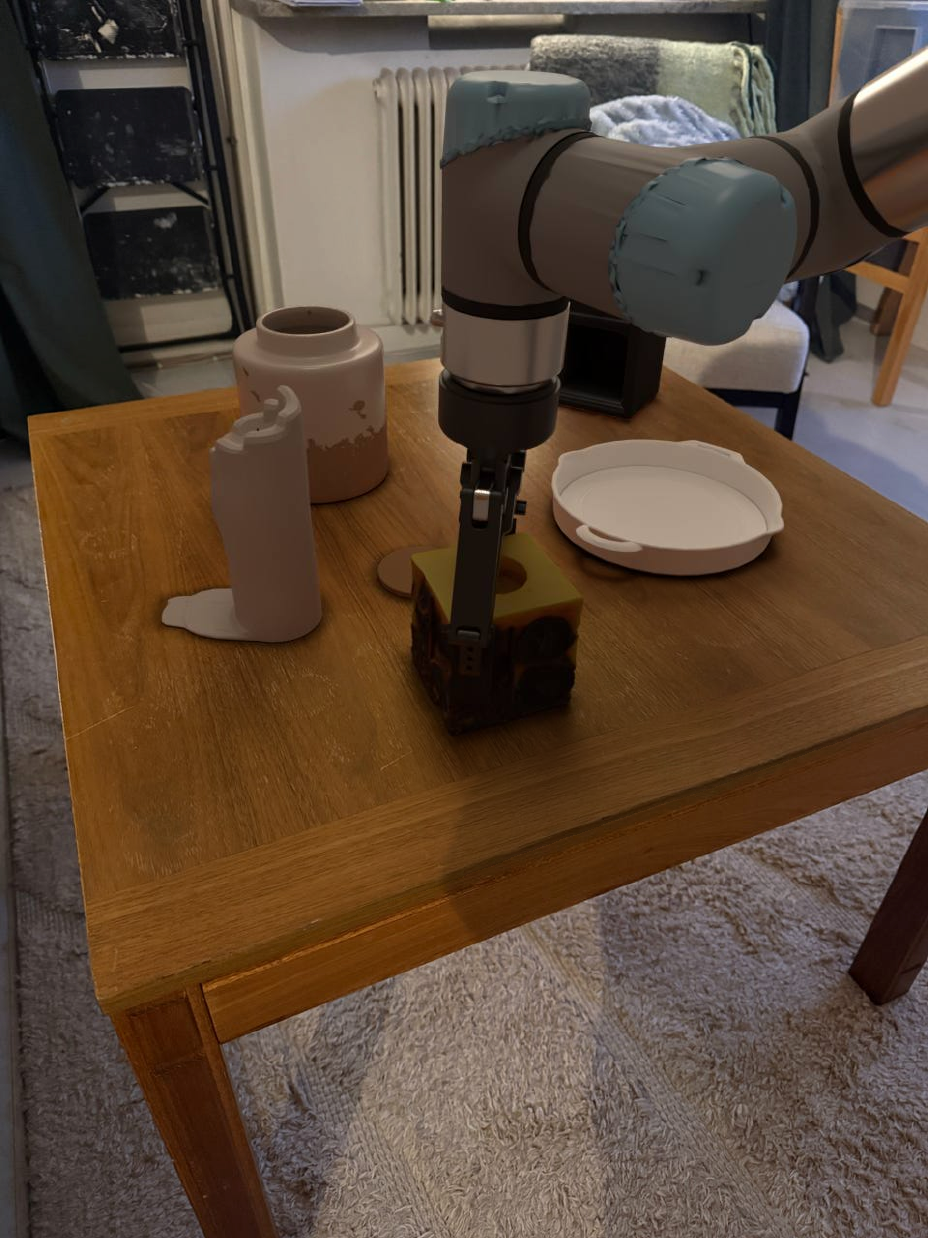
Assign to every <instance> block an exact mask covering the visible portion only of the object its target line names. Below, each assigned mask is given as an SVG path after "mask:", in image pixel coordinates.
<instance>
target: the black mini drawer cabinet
mask: <svg viewBox="0 0 928 1238" xmlns="http://www.w3.org/2000/svg"><path fill="white" fill-rule="evenodd" d="M569 302H570V309H569V318H568V327H567V336H566V345H565V355H564V364H563V368H562V370H561V371H560V373H559V374H558V375H557V376H558V378H559V380H560V393H559V402H558V405H559V406H564V407H569V408H574V409H577V410H582V411H586V412H590V413H596V414H601V415H604V416H608V417H612V418H618V419H622V420H625V421H626V420H627V421H631V420H632V419H633V418H634V417H636V415H637V414H638V413H640V411H641V410H643V409H644V408H645V407H646V406H647V404H649V402H651V401H652V400H653V399H654V398H655V397H656V395H657V394H658V393H659V391H660V384H661V380H662V379H661V378H662V371H663V365H664V358H665V350H666V345H667V338H668V337H660V336H658V335H655V334H654V333H653V332H646V331H644V330H642V329H641V328H640V327H638V326H636V325H633V323H631V322H629V321H626V320H624V319H621V318H619V317H616V316H614V315H611V314H609V313H606V312H604V311H601V310H599V309H596V308H594V307H591V306H589V305H586V304H584V303H581V302H579V301H576V300H574V299H571V298H570V300H569Z"/></svg>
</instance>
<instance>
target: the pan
mask: <svg viewBox="0 0 928 1238" xmlns="http://www.w3.org/2000/svg"><path fill="white" fill-rule="evenodd" d="M550 486H551V491H552V512H553V516H554V520H555V523H556V524H557V526H558V527H559V529H560V530H561V532H562V533H563V534H564V535H565V536H566V537H567V538H568V539H569V540H570V541H571V542H572V543H573V544H574V545H575V546H578V547H579V548H580V549H582V550H584V551H585V552H587V553H588V554H590V555H592V556H594V557H597V558H599V559H600V560H603V561H605V562H607V563H610V564H613V565H616V566H619V567H622V568H626V569H629V570H633V571H637V572H643V573H647V574H652V575H660V576H661V575H662V576H670V577H671V576H673V577H696V576H697V577H699V576H705V575H712V574H719V573H723V572H727V571H730V570H734V569H738V568H739V567H742V566H743V565H745V564H748V563H749V562H752V561H754V560H755V558H757V557H759V555H760V554H762V553H763V552H764V551H765V549H766V548H767V546H768V544H769V543H770V541H771V538H772V537H773V536H774V535H776V534H778V533H781V532H782V531H783V530H784V527H785V523H784V519H783V517H782V512H783V502H782V499H781V496H780V493H779V492H778V490H777V489H776V487H775V486H774V484H773V483H772V482H771V481H770V480H769V479H768V478H767V477H766V476H764V475H763V474H762V472H759V470H757V469H755V468H754V467H752V466H750V465H749V464H747V463H746V462H745V460H744V457H743V455H742V454H741V453H739V452H736V451H734V450H731V449H728V448H724V447H721V446H718V445H715V444H712V443H708V442H703V441H700V440H695V439H689V440H683V441H672V440H671V441H670V440H661V439H660V440H659V439H625V440H615V441H608V442H605V443H599V444H593V445H591V446H588V447H585V448H582V449H578V450H572V451H566V452H564V453H562V454H560V456H559V457H558V459H557V466H556V468H555V470H554V471H553V473H552V476H551V482H550Z"/></svg>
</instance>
